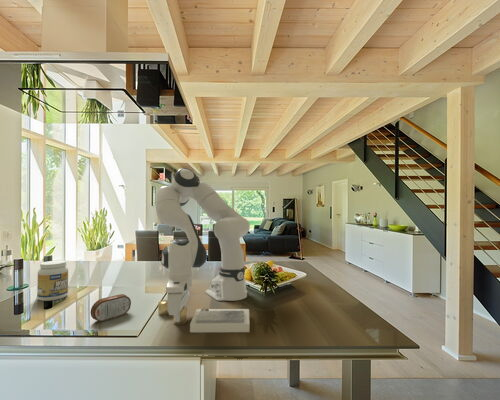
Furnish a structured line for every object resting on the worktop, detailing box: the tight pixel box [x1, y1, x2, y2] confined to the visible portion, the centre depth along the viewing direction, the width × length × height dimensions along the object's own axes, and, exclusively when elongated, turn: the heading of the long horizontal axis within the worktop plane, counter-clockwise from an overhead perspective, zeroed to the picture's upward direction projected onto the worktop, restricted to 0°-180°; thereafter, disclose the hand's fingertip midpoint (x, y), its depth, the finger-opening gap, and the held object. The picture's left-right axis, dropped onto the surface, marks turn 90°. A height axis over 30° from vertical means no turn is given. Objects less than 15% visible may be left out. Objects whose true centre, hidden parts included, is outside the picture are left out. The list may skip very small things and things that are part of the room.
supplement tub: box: [36, 259, 69, 302], centre depth 137 cm, size 12×12×17 cm
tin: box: [90, 293, 132, 323], centre depth 113 cm, size 15×3×8 cm, turn 141°
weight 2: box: [172, 306, 188, 326], centre depth 109 cm, size 5×5×5 cm
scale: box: [189, 307, 250, 333], centre depth 107 cm, size 21×14×4 cm, turn 91°
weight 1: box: [157, 299, 170, 318], centre depth 117 cm, size 5×5×5 cm
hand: (179, 317), depth 109 cm, fingers closed on weight 2, 5 cm apart
